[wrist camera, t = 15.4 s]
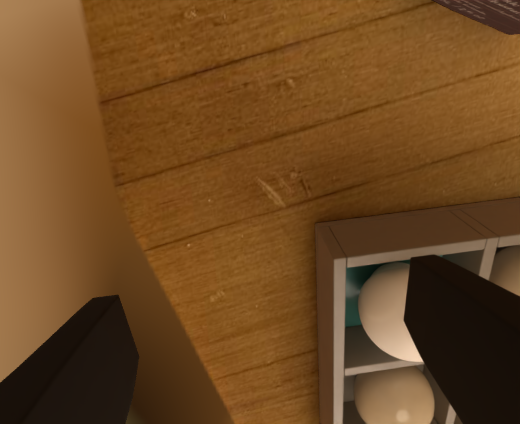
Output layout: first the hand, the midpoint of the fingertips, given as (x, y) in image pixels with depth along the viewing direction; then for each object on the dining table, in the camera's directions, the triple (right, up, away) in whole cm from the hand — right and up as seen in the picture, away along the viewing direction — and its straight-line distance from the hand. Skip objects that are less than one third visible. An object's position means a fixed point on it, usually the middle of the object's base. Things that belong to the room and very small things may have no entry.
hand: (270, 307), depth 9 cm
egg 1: (+8, -8, +14) cm, 18 cm away
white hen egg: (+7, -1, +11) cm, 13 cm away
